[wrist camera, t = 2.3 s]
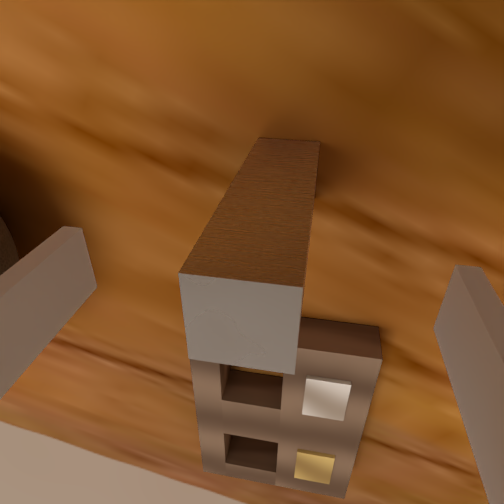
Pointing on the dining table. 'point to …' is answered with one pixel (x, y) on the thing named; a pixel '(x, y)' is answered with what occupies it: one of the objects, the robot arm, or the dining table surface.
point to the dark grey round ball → (6, 249)
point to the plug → (254, 262)
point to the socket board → (292, 411)
